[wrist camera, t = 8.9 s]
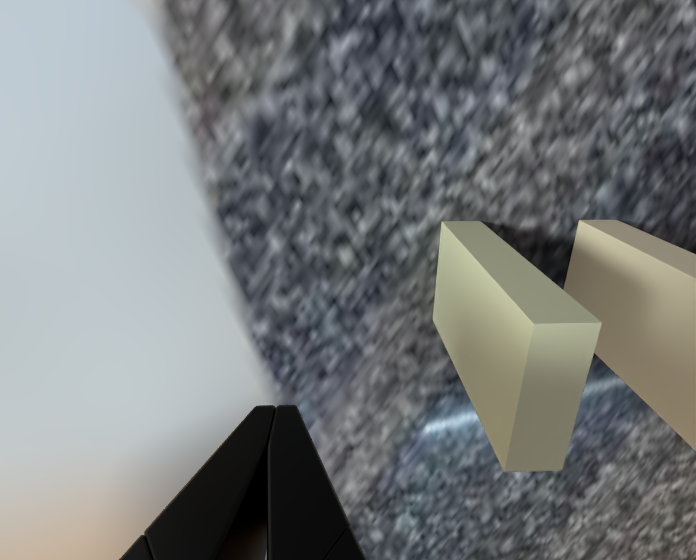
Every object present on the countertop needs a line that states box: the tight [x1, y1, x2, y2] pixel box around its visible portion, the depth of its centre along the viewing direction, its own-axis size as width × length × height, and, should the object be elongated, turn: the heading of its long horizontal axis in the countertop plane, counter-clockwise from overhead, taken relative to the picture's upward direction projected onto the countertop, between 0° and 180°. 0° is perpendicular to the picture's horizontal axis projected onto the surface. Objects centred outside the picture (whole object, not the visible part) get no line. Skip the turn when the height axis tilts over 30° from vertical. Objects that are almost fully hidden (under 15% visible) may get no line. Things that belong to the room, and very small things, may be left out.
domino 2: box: [564, 220, 696, 451], centre depth 13 cm, size 4×1×8 cm, turn 0°
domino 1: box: [433, 221, 602, 472], centre depth 13 cm, size 4×1×8 cm, turn 0°
